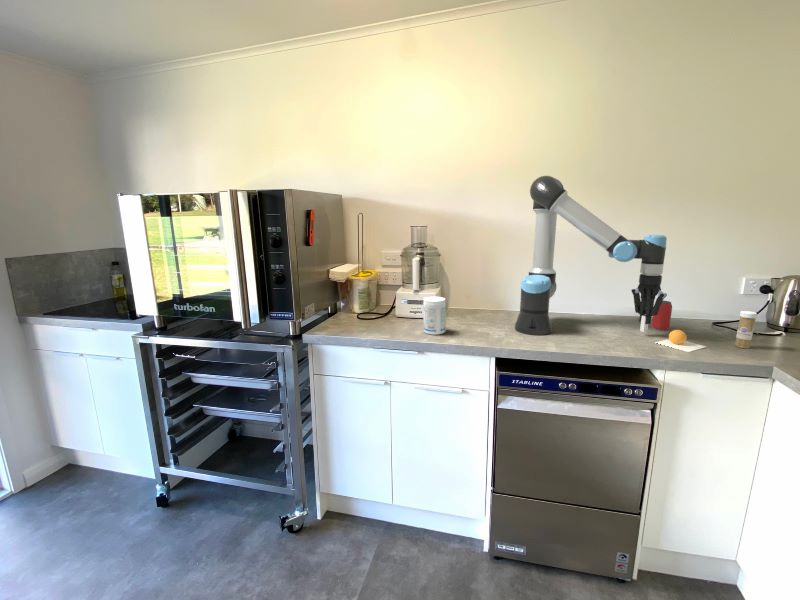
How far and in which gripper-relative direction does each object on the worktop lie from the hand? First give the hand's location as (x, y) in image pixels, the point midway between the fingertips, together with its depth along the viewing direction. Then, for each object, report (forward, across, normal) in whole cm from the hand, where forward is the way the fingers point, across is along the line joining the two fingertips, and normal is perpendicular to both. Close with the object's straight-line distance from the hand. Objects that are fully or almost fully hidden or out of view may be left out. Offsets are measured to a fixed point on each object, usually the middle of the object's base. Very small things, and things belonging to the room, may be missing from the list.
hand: (643, 331), depth 159 cm
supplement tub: (+2, +45, +73) cm, 86 cm away
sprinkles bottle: (+2, -26, -18) cm, 32 cm away
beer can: (+2, +3, -17) cm, 17 cm away
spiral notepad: (+2, -14, 0) cm, 14 cm away
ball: (-1, -13, 0) cm, 13 cm away
